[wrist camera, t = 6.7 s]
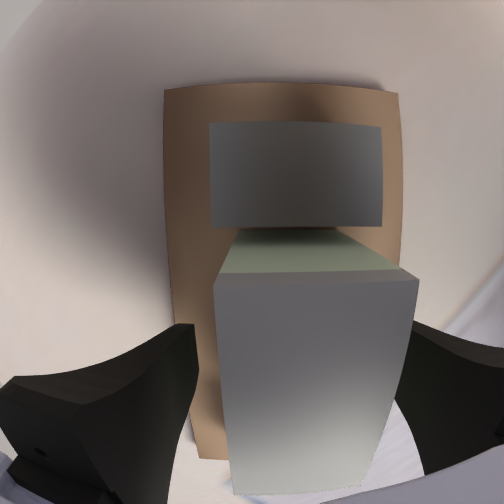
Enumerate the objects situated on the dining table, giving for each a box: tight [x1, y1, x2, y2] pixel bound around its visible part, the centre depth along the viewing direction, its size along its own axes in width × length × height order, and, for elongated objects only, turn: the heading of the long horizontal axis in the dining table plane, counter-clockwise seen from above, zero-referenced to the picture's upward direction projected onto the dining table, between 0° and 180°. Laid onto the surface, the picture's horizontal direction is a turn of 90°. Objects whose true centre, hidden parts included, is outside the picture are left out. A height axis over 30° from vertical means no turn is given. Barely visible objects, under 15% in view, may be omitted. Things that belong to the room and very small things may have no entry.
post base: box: [163, 82, 403, 460], centre depth 12 cm, size 10×20×4 cm, turn 1°
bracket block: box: [213, 230, 419, 495], centre depth 9 cm, size 4×7×7 cm, turn 1°
